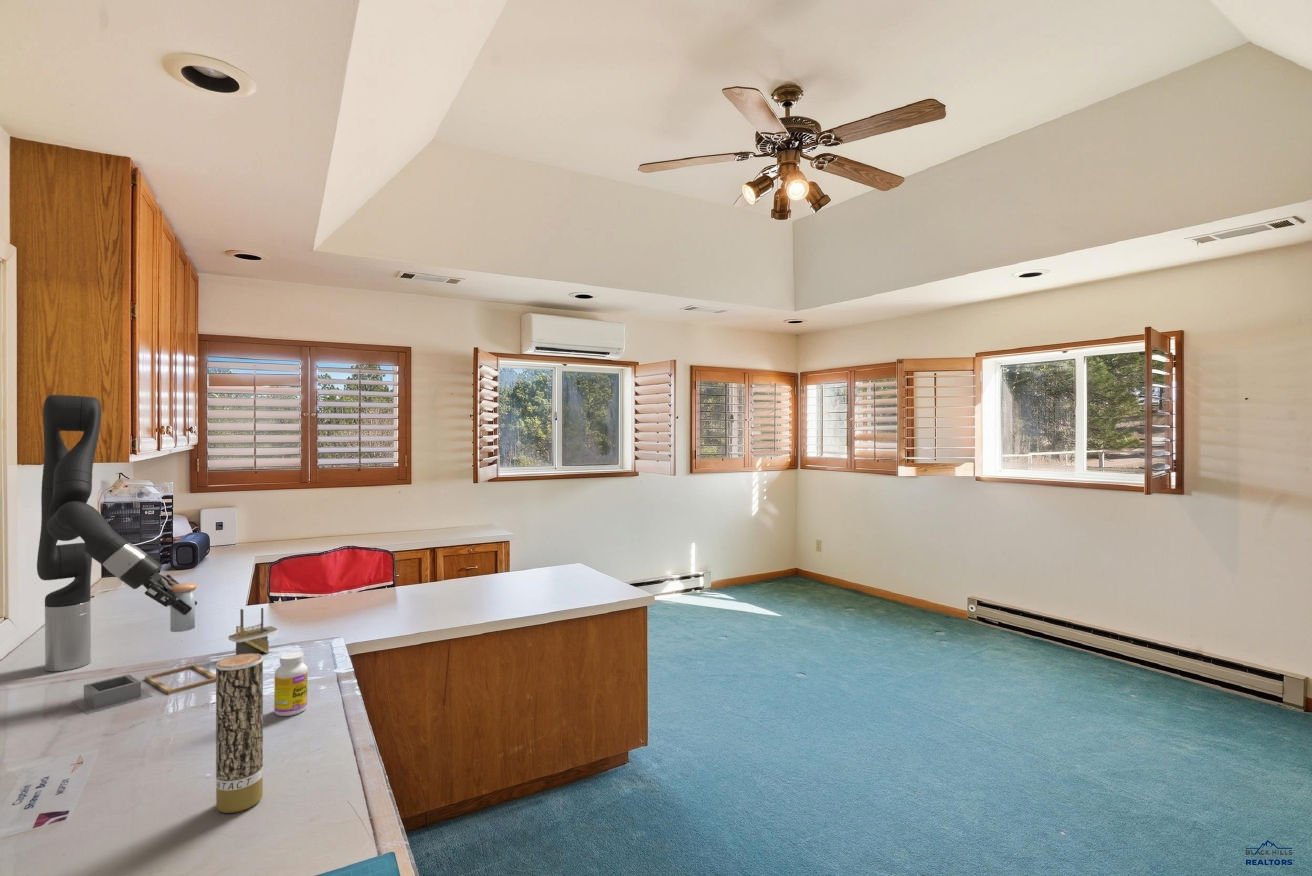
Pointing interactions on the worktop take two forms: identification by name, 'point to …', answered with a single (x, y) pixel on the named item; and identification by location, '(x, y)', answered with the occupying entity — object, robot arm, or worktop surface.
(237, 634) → the architectural model
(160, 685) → the tray
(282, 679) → the supplement bottle
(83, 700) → the housing
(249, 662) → the paper tube
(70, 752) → the worktop surface
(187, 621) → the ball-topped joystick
